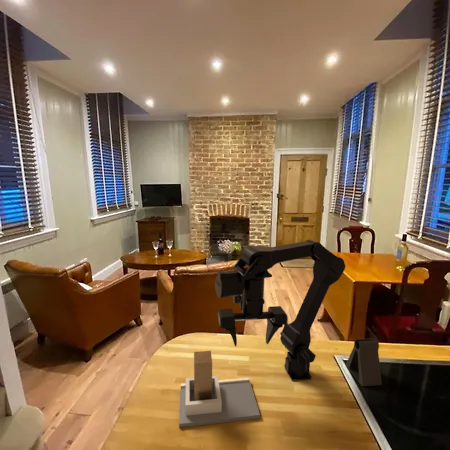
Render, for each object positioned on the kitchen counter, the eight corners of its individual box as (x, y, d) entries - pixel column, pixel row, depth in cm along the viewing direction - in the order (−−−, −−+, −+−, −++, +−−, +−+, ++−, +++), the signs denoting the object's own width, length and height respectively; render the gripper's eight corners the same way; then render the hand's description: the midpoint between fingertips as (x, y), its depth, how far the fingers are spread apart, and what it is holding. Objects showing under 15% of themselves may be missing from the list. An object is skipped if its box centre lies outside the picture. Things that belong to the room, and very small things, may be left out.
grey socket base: (248, 381, 77) (249, 369, 76) (259, 418, 65) (260, 404, 64) (180, 388, 74) (180, 375, 73) (179, 427, 62) (178, 413, 62)
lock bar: (210, 391, 72) (210, 350, 70) (211, 405, 67) (212, 362, 65) (194, 392, 71) (193, 351, 69) (194, 406, 67) (194, 363, 65)
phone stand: (381, 385, 76) (386, 348, 74) (362, 386, 76) (367, 349, 74) (363, 364, 85) (366, 331, 83) (345, 365, 84) (349, 331, 82)
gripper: (276, 280, 80) (273, 326, 83) (216, 282, 77) (215, 330, 80) (290, 296, 69) (286, 348, 72) (220, 299, 67) (219, 353, 69)
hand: (251, 344), depth 74 cm, fingers open, 9 cm apart
